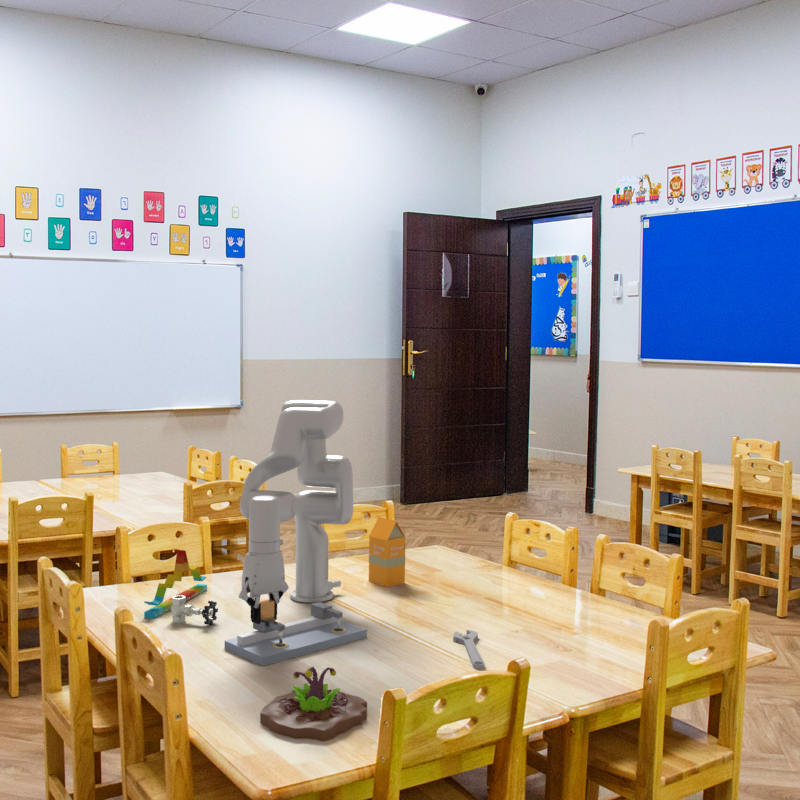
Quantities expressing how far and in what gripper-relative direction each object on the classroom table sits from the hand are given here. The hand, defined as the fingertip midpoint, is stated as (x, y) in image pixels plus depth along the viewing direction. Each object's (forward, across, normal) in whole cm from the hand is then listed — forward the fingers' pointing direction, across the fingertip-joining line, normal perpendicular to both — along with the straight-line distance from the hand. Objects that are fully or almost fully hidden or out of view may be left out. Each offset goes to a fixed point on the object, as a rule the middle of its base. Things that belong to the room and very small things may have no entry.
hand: (263, 620), depth 222 cm
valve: (+7, +3, -28) cm, 29 cm away
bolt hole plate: (+7, -8, +3) cm, 11 cm away
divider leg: (+4, 0, +2) cm, 5 cm away
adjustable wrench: (+7, -36, +35) cm, 51 cm away
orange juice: (+7, -65, -26) cm, 70 cm away
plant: (+7, +17, +42) cm, 46 cm away
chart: (+7, -3, -47) cm, 48 cm away
